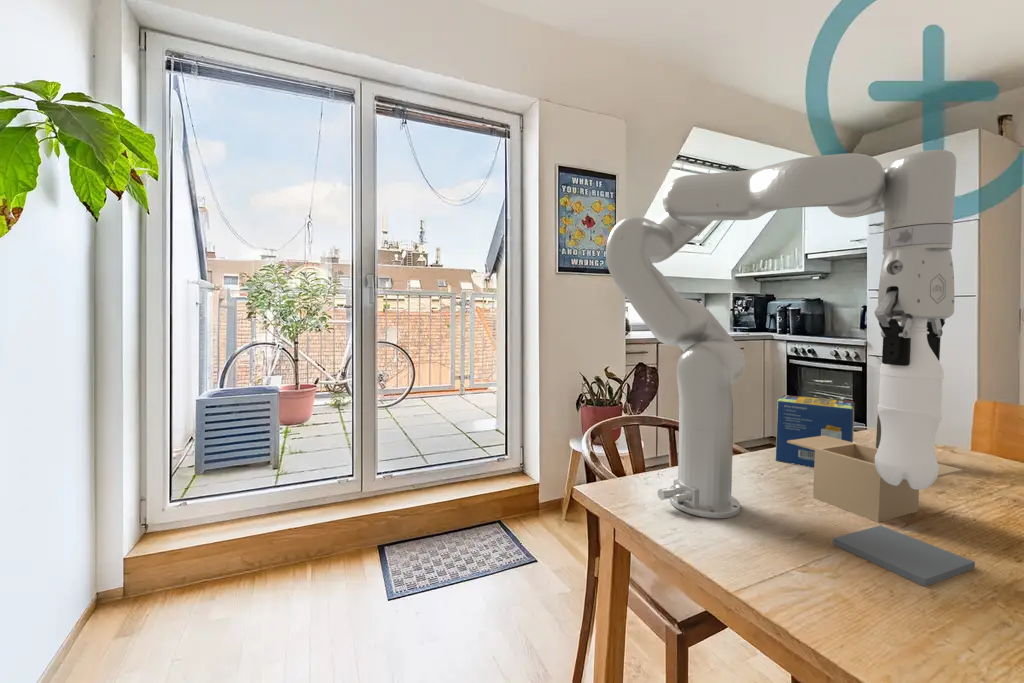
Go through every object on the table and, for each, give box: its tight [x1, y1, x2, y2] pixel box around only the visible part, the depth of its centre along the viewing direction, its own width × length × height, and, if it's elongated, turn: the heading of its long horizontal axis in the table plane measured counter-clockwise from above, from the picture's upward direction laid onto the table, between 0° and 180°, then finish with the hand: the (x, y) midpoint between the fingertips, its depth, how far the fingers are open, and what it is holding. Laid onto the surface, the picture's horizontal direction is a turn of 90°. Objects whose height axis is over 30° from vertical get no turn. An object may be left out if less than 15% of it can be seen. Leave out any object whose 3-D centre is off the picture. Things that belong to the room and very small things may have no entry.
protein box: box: [774, 394, 855, 468], centre depth 111 cm, size 10×15×16 cm
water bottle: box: [875, 317, 945, 491], centre depth 66 cm, size 7×7×25 cm
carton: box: [787, 436, 964, 523], centre depth 86 cm, size 12×24×10 cm, turn 21°
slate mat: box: [832, 524, 976, 587], centre depth 68 cm, size 12×12×1 cm
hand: (910, 362), depth 66 cm, fingers closed on water bottle, 6 cm apart
